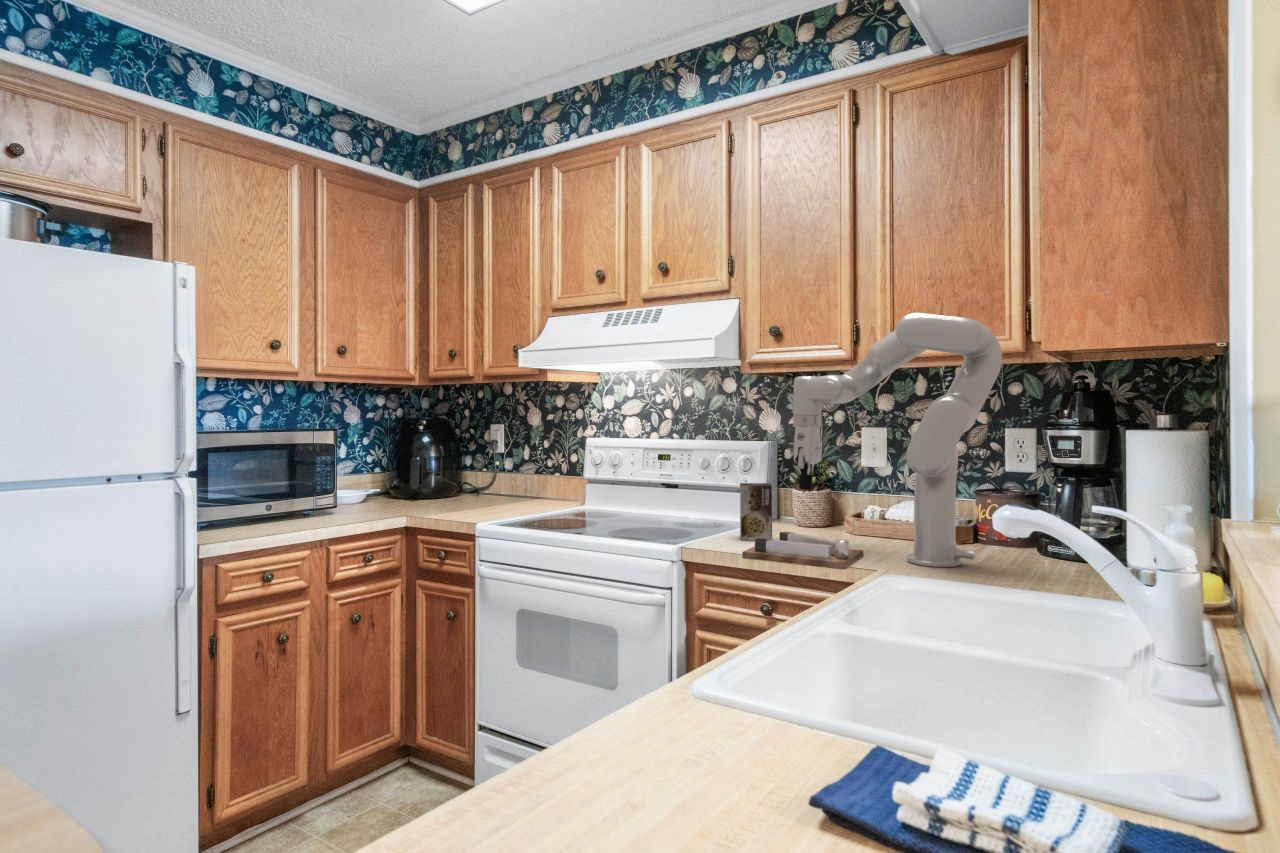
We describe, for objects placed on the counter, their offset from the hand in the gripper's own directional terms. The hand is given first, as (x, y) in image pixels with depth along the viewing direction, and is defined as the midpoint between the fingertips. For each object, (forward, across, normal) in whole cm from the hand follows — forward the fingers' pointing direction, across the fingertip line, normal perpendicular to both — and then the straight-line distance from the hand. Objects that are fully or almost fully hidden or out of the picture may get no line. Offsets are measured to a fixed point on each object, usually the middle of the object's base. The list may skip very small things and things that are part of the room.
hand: (805, 489), depth 203 cm
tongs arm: (+14, -9, -4) cm, 18 cm away
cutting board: (+16, -12, -4) cm, 20 cm away
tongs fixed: (+15, -17, -4) cm, 23 cm away
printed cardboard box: (+16, +6, +16) cm, 24 cm away
